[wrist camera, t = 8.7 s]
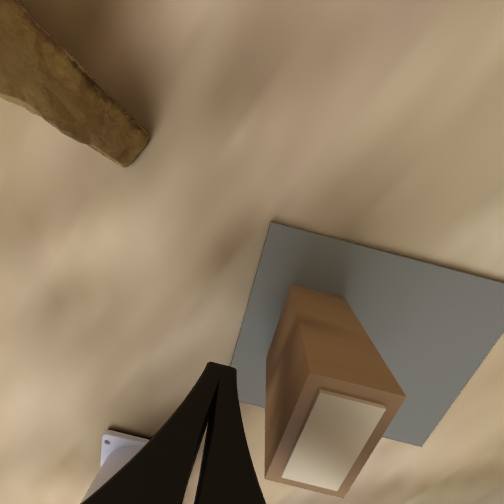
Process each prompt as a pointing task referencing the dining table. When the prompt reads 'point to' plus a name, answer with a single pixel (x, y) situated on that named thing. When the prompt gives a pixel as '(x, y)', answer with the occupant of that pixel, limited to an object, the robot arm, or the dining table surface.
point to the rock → (62, 89)
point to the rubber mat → (378, 319)
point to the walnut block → (324, 394)
